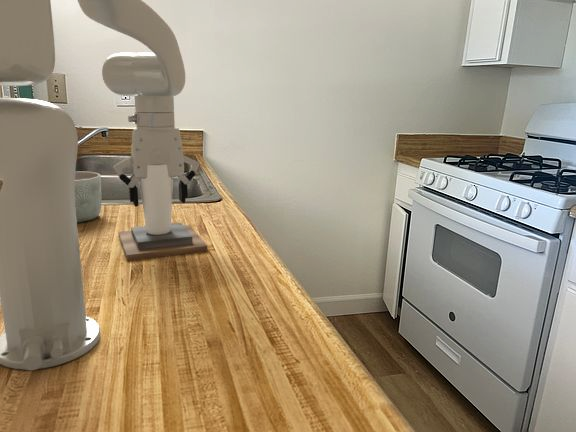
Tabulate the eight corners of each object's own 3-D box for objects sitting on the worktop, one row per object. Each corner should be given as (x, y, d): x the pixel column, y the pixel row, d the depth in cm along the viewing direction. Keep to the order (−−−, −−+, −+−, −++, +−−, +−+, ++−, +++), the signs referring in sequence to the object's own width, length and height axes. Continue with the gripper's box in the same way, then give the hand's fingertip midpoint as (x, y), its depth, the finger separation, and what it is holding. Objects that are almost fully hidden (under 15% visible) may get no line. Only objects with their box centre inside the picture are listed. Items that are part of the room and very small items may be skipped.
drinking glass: (135, 233, 101) (130, 163, 97) (157, 225, 107) (154, 159, 103) (159, 239, 98) (156, 166, 94) (181, 230, 104) (178, 162, 100)
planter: (45, 216, 122) (40, 174, 119) (95, 209, 129) (92, 169, 126) (57, 228, 112) (52, 182, 109) (110, 220, 120) (107, 177, 117)
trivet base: (207, 251, 100) (207, 238, 99) (127, 260, 93) (126, 247, 93) (189, 229, 114) (189, 218, 113) (118, 236, 107) (117, 225, 107)
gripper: (111, 123, 90) (118, 211, 94) (202, 122, 97) (204, 204, 101) (108, 120, 96) (114, 202, 101) (193, 119, 103) (195, 196, 108)
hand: (159, 203), depth 101 cm, fingers open, 9 cm apart
